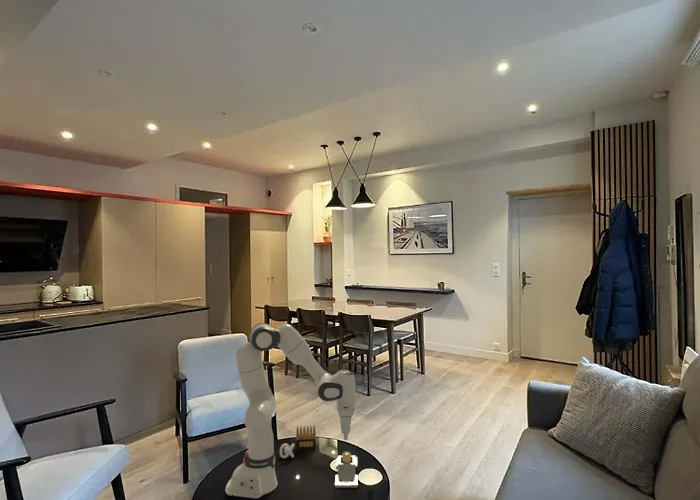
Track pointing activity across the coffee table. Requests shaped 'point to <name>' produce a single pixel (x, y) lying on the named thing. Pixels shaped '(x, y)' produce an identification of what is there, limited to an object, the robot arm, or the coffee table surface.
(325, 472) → the coffee table surface
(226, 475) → the coffee table surface
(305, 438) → the ammunition clip
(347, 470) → the hinge
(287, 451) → the knot
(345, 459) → the hinge pin
